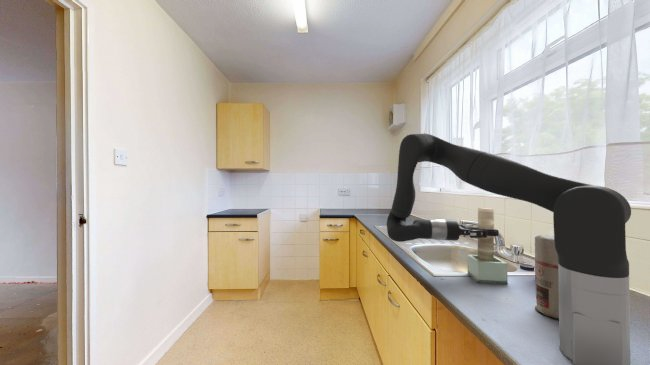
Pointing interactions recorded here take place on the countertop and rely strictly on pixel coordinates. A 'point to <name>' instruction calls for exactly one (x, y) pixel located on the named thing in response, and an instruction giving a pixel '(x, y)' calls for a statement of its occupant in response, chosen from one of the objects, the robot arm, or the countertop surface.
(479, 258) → the birch dowel
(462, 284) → the countertop surface
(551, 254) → the white labelled canister
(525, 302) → the countertop surface
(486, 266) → the pale green open box
